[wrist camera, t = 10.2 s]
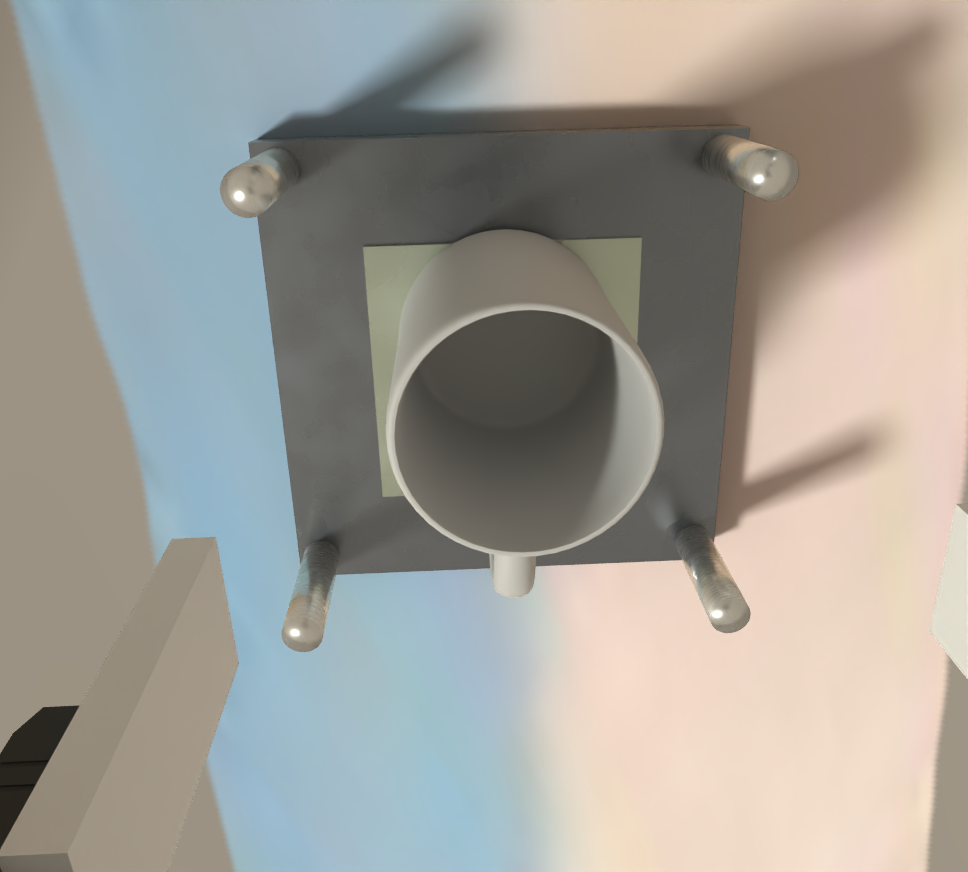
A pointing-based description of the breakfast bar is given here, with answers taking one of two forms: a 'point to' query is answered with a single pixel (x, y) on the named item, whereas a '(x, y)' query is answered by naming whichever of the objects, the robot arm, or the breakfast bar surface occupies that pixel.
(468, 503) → the mug
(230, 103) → the breakfast bar surface
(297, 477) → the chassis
